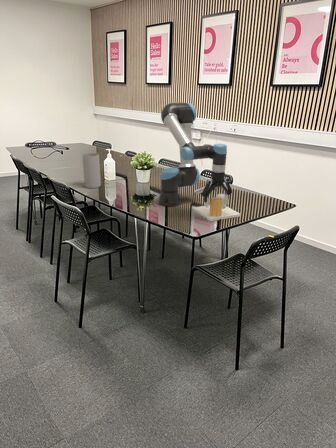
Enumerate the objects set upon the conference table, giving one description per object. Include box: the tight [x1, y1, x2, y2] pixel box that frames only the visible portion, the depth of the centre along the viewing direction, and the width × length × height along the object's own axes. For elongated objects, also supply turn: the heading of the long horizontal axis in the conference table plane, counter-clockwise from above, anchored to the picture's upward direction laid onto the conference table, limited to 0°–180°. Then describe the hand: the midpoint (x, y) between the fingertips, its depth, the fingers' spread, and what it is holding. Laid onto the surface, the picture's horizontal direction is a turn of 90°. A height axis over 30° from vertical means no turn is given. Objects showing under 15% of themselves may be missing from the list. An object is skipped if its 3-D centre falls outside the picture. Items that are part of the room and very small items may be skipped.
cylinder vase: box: [81, 152, 102, 189], centre depth 261 cm, size 12×12×25 cm
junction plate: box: [191, 193, 242, 222], centre depth 211 cm, size 22×22×10 cm
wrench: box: [193, 183, 219, 195], centre depth 257 cm, size 8×2×30 cm
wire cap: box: [209, 196, 223, 217], centre depth 204 cm, size 7×7×10 cm
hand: (216, 205), depth 204 cm, fingers open, 13 cm apart
